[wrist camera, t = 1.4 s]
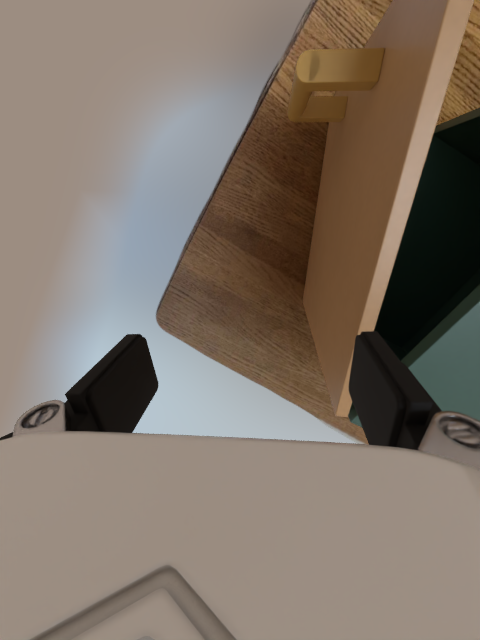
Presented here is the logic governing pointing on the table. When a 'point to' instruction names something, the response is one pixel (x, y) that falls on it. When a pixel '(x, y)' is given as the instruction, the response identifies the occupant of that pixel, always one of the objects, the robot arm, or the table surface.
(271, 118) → the table surface
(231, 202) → the table surface
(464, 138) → the cupboard
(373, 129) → the cupboard door
